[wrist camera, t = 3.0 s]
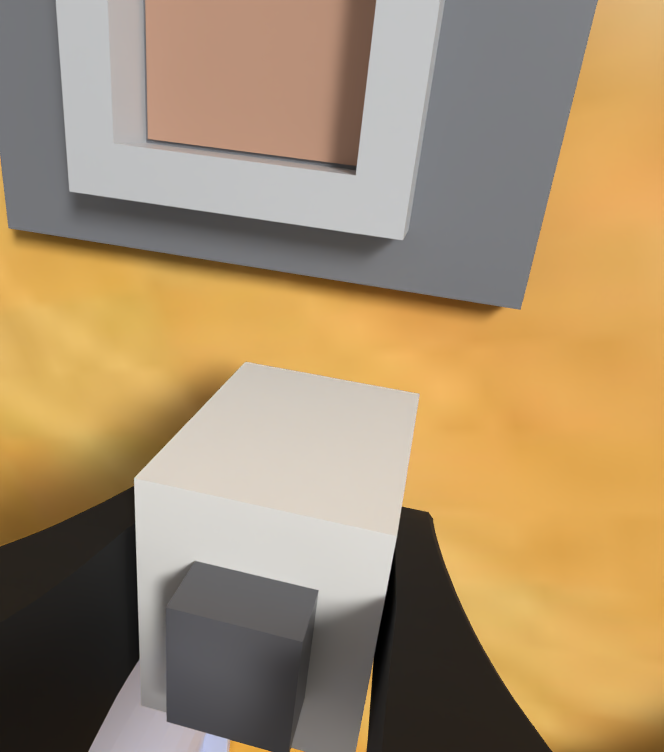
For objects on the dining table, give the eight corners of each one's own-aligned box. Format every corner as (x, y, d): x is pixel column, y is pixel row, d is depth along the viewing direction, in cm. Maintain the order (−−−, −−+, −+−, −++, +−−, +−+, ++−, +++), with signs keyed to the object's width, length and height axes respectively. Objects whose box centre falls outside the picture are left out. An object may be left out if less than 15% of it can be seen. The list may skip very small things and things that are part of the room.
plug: (386, 571, 15) (342, 826, 9) (235, 536, 15) (111, 757, 10) (419, 393, 13) (388, 585, 7) (245, 362, 13) (96, 517, 8)
